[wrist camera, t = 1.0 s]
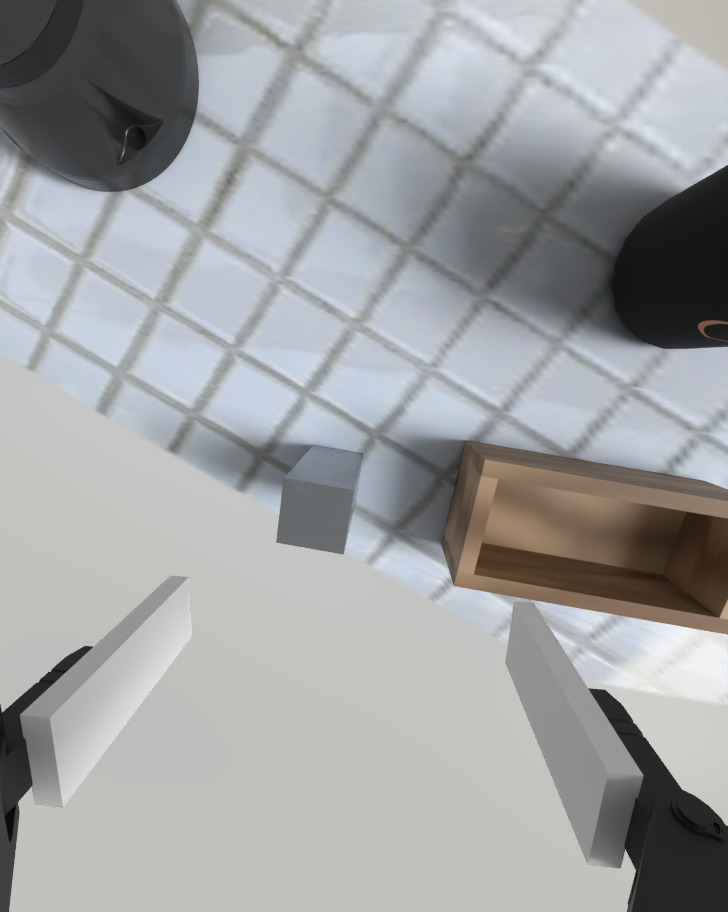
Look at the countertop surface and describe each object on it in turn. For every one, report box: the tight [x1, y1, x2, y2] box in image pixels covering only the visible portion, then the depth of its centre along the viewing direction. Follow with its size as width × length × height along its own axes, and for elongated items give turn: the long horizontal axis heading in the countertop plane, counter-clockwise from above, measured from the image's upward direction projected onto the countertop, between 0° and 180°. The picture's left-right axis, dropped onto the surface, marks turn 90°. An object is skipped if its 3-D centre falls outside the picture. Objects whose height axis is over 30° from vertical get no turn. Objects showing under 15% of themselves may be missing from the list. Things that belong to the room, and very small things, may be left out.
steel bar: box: [276, 445, 363, 554], centre depth 30 cm, size 4×4×10 cm
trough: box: [441, 440, 728, 634], centre depth 31 cm, size 10×21×7 cm, turn 81°
